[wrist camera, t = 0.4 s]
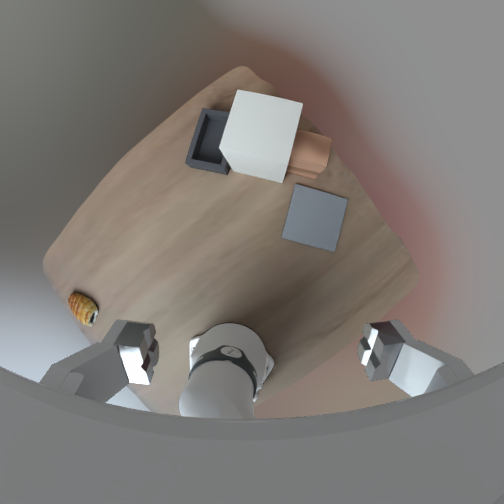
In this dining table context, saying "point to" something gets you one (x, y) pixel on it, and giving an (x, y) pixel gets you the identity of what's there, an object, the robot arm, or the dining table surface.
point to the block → (309, 154)
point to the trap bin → (209, 142)
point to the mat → (314, 218)
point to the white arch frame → (260, 134)
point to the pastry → (83, 308)
